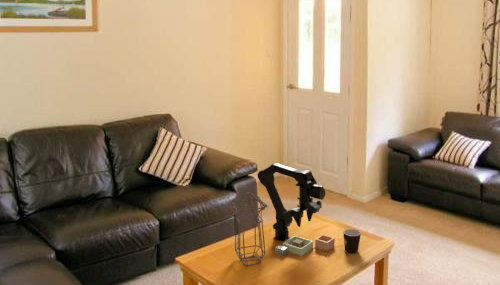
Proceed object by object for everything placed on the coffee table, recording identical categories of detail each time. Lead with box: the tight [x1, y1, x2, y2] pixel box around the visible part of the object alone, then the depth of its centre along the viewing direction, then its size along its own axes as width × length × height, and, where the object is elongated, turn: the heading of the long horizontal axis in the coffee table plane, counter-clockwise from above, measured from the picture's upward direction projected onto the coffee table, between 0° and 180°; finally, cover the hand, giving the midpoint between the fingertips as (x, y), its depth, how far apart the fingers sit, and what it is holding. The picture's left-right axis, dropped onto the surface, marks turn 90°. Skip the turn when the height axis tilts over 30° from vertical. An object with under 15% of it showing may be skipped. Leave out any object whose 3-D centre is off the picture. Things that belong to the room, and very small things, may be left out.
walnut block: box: [292, 239, 303, 248], centre depth 257 cm, size 4×4×4 cm
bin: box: [282, 235, 314, 257], centre depth 257 cm, size 11×11×4 cm
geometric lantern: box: [229, 191, 269, 267], centre depth 242 cm, size 16×16×35 cm
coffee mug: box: [343, 228, 362, 255], centre depth 256 cm, size 12×9×10 cm
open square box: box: [314, 234, 336, 253], centre depth 259 cm, size 7×7×5 cm
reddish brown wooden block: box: [274, 244, 289, 257], centre depth 253 cm, size 5×4×4 cm
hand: (304, 223), depth 259 cm, fingers open, 9 cm apart
